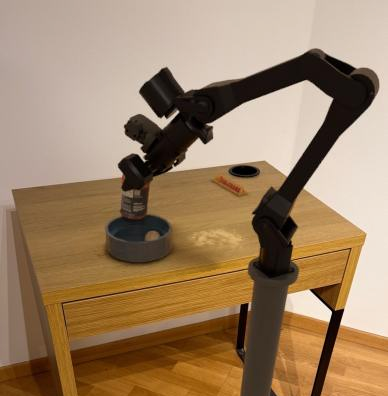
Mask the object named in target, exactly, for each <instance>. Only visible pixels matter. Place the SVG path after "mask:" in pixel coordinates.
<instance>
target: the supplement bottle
mask: <svg viewBox="0 0 388 396" xmlns="http://www.w3.org/2000/svg"><path fill="white" fill-rule="evenodd" d="M124 179H125V176H124V174H123V173H122V175H121V184H120V187H121V186H122V184H123V182H124ZM150 186H151V183H150V184H148V185H147V186H145V187H144V188H142V189H141V190H139V191H138V190H136V189H133V190H129V191H126V192H124V191H123V190H122V189H121V188H120V196H119V197H120V199H119V213H120V216H124V217H125V218H128V219H133V220H139V219H142V218H144V217H145V216H146V214H148V207H149V206H148V203H149V196H150Z"/></svg>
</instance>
